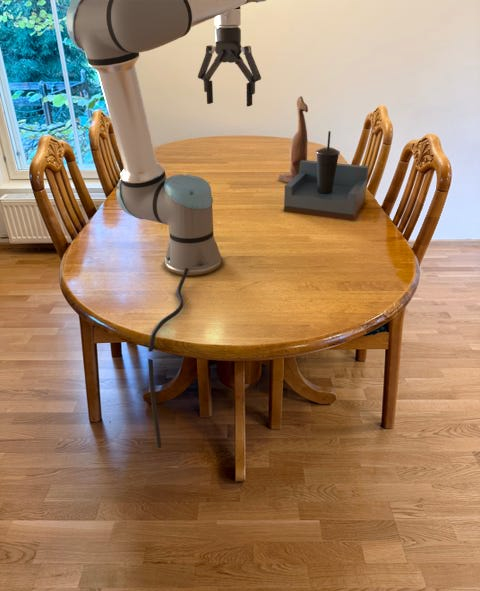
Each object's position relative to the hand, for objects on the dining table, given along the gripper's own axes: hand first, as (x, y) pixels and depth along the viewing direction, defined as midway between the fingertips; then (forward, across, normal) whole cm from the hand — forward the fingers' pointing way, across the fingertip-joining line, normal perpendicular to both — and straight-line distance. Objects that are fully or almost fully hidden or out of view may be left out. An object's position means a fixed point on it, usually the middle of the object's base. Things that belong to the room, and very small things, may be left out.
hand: (229, 104), depth 153 cm
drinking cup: (+29, -29, -13) cm, 43 cm away
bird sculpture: (+35, -11, -40) cm, 54 cm away
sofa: (+34, -29, -15) cm, 48 cm away
